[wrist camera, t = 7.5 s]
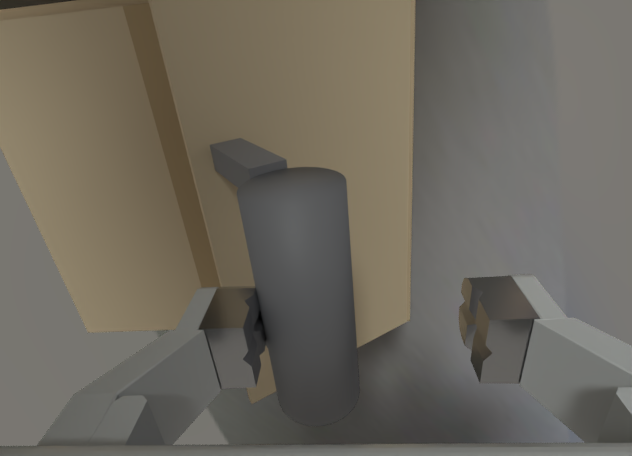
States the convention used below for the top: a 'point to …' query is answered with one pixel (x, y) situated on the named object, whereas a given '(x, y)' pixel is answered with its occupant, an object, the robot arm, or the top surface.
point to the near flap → (300, 175)
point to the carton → (110, 160)
